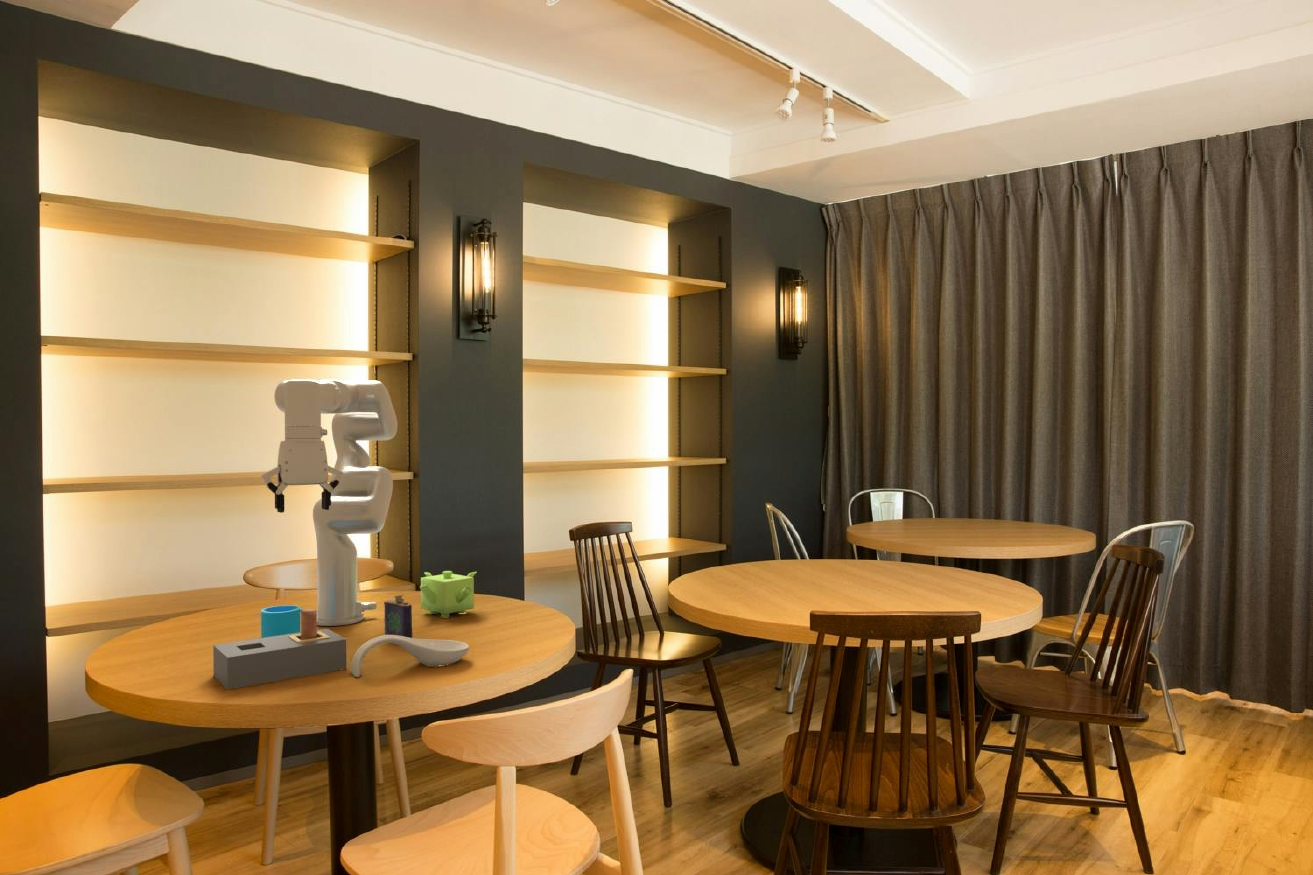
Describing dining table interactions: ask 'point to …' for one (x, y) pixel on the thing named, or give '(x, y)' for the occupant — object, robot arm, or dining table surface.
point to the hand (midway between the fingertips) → (303, 510)
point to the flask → (398, 617)
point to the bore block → (277, 658)
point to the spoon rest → (414, 650)
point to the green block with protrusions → (447, 593)
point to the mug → (280, 620)
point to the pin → (308, 624)
